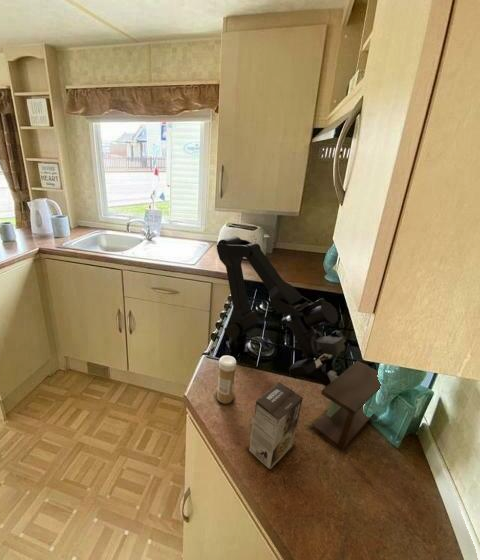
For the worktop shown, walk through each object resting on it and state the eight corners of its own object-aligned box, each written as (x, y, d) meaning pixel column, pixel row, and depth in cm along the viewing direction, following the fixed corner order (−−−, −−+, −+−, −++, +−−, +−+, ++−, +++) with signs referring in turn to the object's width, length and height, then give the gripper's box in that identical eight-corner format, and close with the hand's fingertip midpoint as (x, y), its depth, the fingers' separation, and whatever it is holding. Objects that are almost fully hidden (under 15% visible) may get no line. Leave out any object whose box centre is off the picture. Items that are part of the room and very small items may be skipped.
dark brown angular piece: (311, 428, 80) (321, 390, 75) (346, 396, 90) (357, 360, 85) (341, 451, 75) (354, 411, 69) (374, 413, 85) (388, 376, 79)
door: (313, 406, 85) (321, 377, 81) (329, 392, 89) (337, 365, 85) (330, 417, 82) (338, 388, 77) (345, 403, 86) (354, 374, 82)
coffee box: (270, 429, 80) (279, 380, 73) (292, 447, 75) (304, 396, 68) (247, 450, 74) (254, 399, 67) (269, 470, 70) (280, 418, 63)
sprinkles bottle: (235, 398, 89) (240, 360, 83) (225, 406, 86) (229, 368, 80) (223, 389, 92) (226, 352, 86) (213, 397, 89) (215, 359, 83)
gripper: (307, 337, 74) (341, 401, 71) (346, 313, 85) (377, 367, 82) (276, 348, 83) (304, 404, 80) (315, 325, 94) (342, 374, 91)
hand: (333, 387), depth 83 cm, fingers closed on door, 2 cm apart
